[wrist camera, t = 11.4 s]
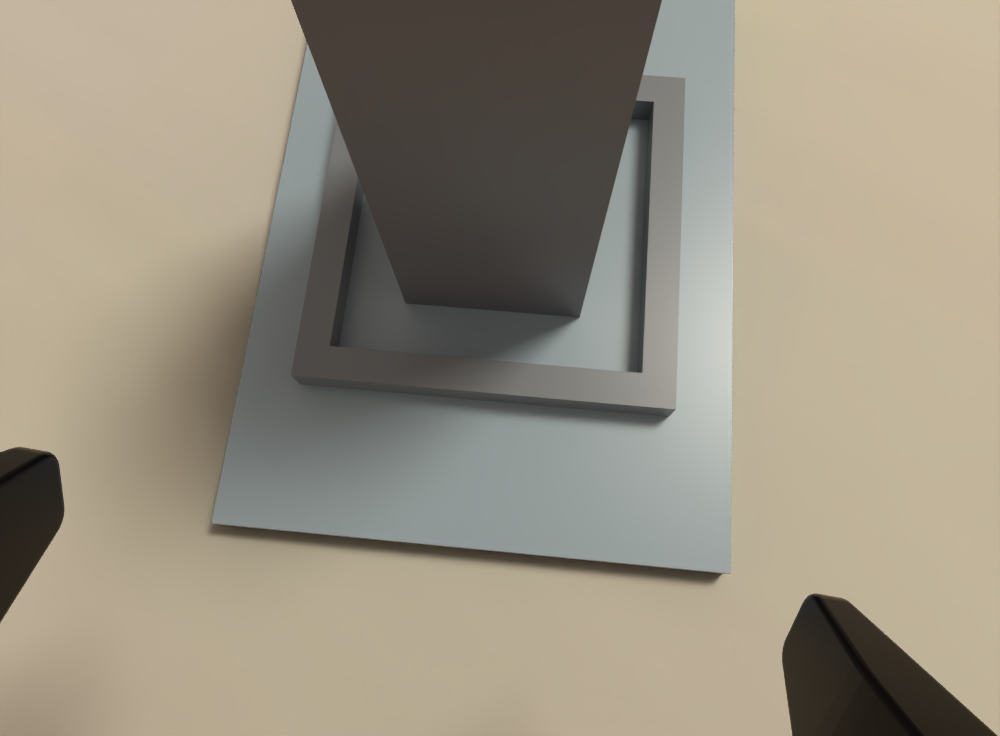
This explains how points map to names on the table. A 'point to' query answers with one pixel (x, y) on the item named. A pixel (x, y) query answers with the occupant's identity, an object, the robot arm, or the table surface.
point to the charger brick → (485, 136)
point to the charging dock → (506, 355)
